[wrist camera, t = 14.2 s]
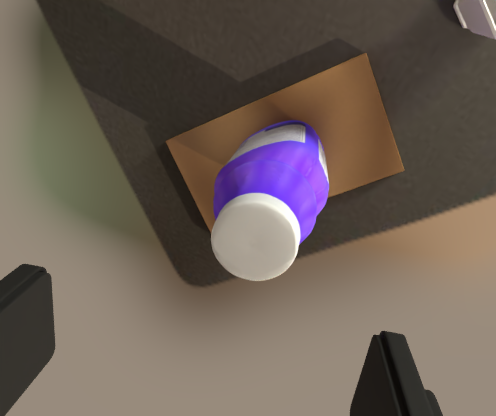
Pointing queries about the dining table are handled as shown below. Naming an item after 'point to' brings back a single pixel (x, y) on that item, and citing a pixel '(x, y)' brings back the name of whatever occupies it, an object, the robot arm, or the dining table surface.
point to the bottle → (269, 200)
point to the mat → (306, 110)
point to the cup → (477, 16)
